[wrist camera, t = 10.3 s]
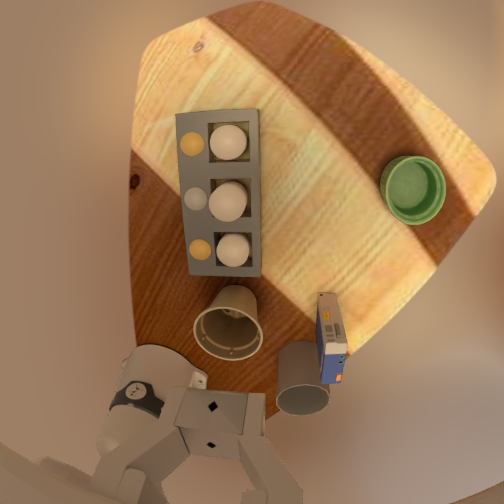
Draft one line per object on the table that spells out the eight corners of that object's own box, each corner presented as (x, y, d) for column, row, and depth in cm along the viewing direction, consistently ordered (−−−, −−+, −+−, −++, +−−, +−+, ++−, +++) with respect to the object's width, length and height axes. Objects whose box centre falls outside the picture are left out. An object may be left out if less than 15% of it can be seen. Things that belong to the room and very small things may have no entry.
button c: (248, 156, 37) (245, 159, 34) (216, 157, 38) (210, 160, 35) (248, 124, 35) (244, 124, 32) (215, 125, 36) (209, 126, 33)
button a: (251, 256, 43) (248, 267, 40) (222, 255, 43) (217, 266, 40) (250, 228, 41) (248, 237, 38) (220, 228, 42) (215, 237, 39)
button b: (248, 213, 38) (245, 221, 35) (215, 213, 38) (210, 221, 35) (247, 180, 36) (244, 186, 33) (214, 181, 37) (207, 187, 34)
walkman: (331, 331, 48) (340, 385, 37) (315, 331, 48) (320, 386, 37) (335, 291, 44) (349, 343, 34) (318, 291, 45) (326, 344, 34)
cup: (292, 334, 49) (293, 378, 40) (333, 349, 49) (340, 392, 40) (270, 365, 52) (267, 408, 43) (309, 378, 53) (311, 420, 44)
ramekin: (364, 196, 38) (373, 205, 34) (393, 139, 35) (406, 142, 31) (413, 225, 39) (425, 236, 35) (441, 172, 35) (456, 179, 31)
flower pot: (199, 311, 48) (185, 346, 41) (217, 264, 45) (204, 296, 37) (253, 331, 49) (247, 368, 41) (276, 288, 45) (274, 323, 37)
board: (261, 267, 44) (260, 277, 41) (194, 265, 45) (189, 275, 42) (259, 109, 35) (257, 108, 32) (183, 114, 36) (174, 113, 33)
